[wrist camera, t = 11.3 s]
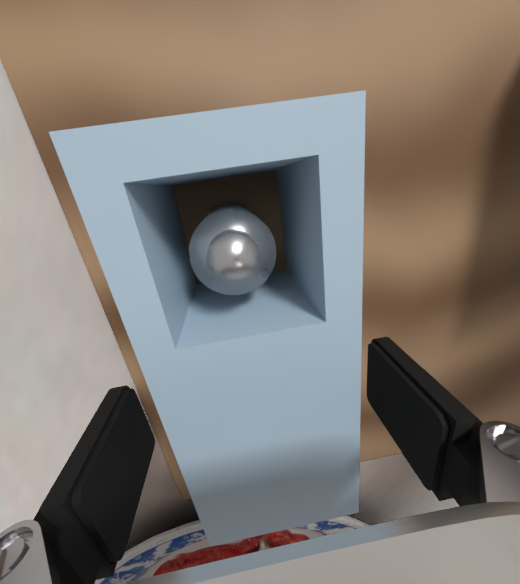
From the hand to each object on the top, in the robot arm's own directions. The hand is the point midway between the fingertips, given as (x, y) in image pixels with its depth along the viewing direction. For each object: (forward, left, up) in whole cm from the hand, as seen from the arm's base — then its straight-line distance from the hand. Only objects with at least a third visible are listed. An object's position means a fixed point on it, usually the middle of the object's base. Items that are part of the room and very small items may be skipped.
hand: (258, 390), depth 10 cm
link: (0, 0, -3) cm, 3 cm away
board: (-2, +6, -4) cm, 7 cm away
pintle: (-6, 0, -4) cm, 7 cm away
